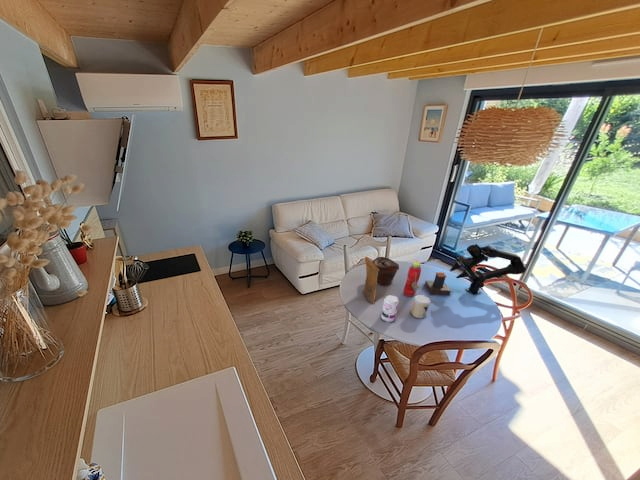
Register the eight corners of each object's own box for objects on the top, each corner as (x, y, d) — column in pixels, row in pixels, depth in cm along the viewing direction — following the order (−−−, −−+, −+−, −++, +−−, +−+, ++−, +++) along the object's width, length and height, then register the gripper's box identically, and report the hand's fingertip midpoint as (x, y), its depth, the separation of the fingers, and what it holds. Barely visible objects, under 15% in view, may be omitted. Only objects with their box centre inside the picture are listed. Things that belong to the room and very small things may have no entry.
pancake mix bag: (367, 304, 189) (373, 268, 175) (359, 289, 206) (364, 254, 192) (377, 304, 189) (384, 268, 176) (368, 288, 206) (374, 254, 192)
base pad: (442, 285, 209) (443, 281, 207) (449, 295, 198) (451, 290, 196) (424, 285, 210) (425, 280, 208) (430, 294, 199) (432, 290, 197)
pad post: (438, 288, 206) (443, 272, 199) (441, 292, 202) (446, 276, 195) (431, 287, 206) (436, 272, 200) (434, 291, 202) (438, 276, 196)
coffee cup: (424, 320, 174) (429, 305, 168) (408, 315, 179) (412, 300, 173) (426, 312, 181) (431, 297, 175) (411, 308, 186) (415, 293, 180)
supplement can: (394, 315, 179) (399, 295, 172) (394, 323, 172) (399, 303, 165) (381, 312, 182) (385, 293, 174) (380, 320, 175) (384, 301, 167)
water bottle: (416, 301, 192) (425, 269, 180) (404, 299, 194) (412, 267, 182) (413, 291, 202) (422, 260, 190) (401, 290, 204) (409, 259, 192)
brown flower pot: (373, 272, 226) (376, 252, 218) (398, 279, 216) (403, 259, 207) (364, 282, 214) (368, 261, 205) (391, 290, 204) (396, 268, 195)
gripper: (461, 246, 195) (441, 260, 202) (476, 259, 179) (453, 274, 186) (470, 256, 199) (449, 270, 205) (485, 270, 183) (462, 284, 189)
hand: (453, 274), depth 196 cm, fingers open, 9 cm apart
